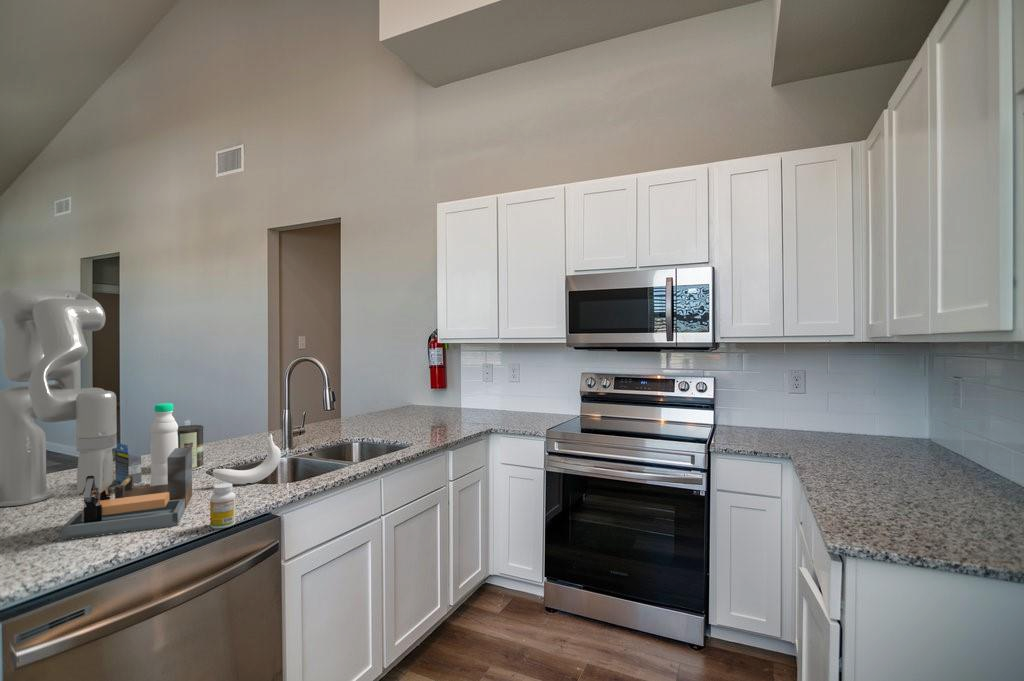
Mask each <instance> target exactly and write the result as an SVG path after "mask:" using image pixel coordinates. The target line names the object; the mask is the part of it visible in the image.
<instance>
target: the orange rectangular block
mask: <svg viewBox="0 0 1024 681" xmlns="http://www.w3.org/2000/svg"><path fill="white" fill-rule="evenodd" d="M168 501H169V492H165V493H157V494H149V495H141V496H133V497H125V498H117V499H114V498H110V499H109V500H101V501H100V505H102V515H109V514H116V513H124V512H131V511H139V510H146V509H154V508H161V507H165V506H166V505H167V503H168ZM82 510H83V518H84V508H83V509H82Z"/></svg>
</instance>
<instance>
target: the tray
mask: <svg viewBox="0 0 1024 681" xmlns="http://www.w3.org/2000/svg"><path fill="white" fill-rule="evenodd" d="M185 511H186V509H185V499H178V500H169V501H168V503H167V505H166V506H165V507H161V508H154V509H146V510H139V511H131V512H124V513H116V514H109V515H102V521H100V522H91V523H84V518H83V509H82V510H79V511H77V512H76V513H75V514H74V515H73V516H72V517H71V518H70V519H68V521H66V522H65V523H64V524H63V525H62V526H61V534H60V535H61V541H62V540H64V541H67V540H66V539H71V540H73V539H72V538H79V539H82V538H81V537H87V536H94V537H97V536H96V535H102V534H110V533H117V534H119V533H118V532H124V531H132V532H135V531H134V530H140V531H145V530H146V529H148V530H153V529H154V528H155V529H163V528H169V527H176V526H177V527H178V526H179V523H180V521H181V519H182V517H183V515H184V513H185ZM155 529H154V530H155ZM146 531H147V530H146ZM110 535H111V534H110ZM102 536H103V535H102ZM87 538H88V537H87Z"/></svg>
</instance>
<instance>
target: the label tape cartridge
mask: <svg viewBox="0 0 1024 681" xmlns="http://www.w3.org/2000/svg"><path fill="white" fill-rule="evenodd" d="M121 448H123V449H121ZM128 448H129V447H128V445H127V444H124V443H119V442H117V447H116V448H114V451H115V452H114V453H115V455H114V456H115V458H114V459H115V460H114V461H115V462H114V463H115V468H114V469H115V482H117V481H118V483H120V482H121V483H122V482H123V481H124V480H125V477H126V476H133V485H135V484H134V483H137V484H140V483H139V482H141V483H142V456H141V455H138V454H135V453H131V452H129V449H128ZM121 483H120V484H121Z"/></svg>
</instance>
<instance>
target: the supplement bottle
mask: <svg viewBox="0 0 1024 681" xmlns="http://www.w3.org/2000/svg"><path fill="white" fill-rule="evenodd" d="M213 493H214V494H212V495H211V496H210V499H209V501H210V502H209V504H210V505H209V507H210V509H209V512H210V513H209V514H210V516H209V517H210V522H209V524H210V527H211V528H212V529H225V528H229V527H232V526H234V525H235V524H236V521H237V512H236V511H237V510H236V509H237V508H236V507H237V506H236V505H237V503H236V501H237V500H236V493H235V492H234V491H233V483H229V482H222V483H217V484H214V485H213Z"/></svg>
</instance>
